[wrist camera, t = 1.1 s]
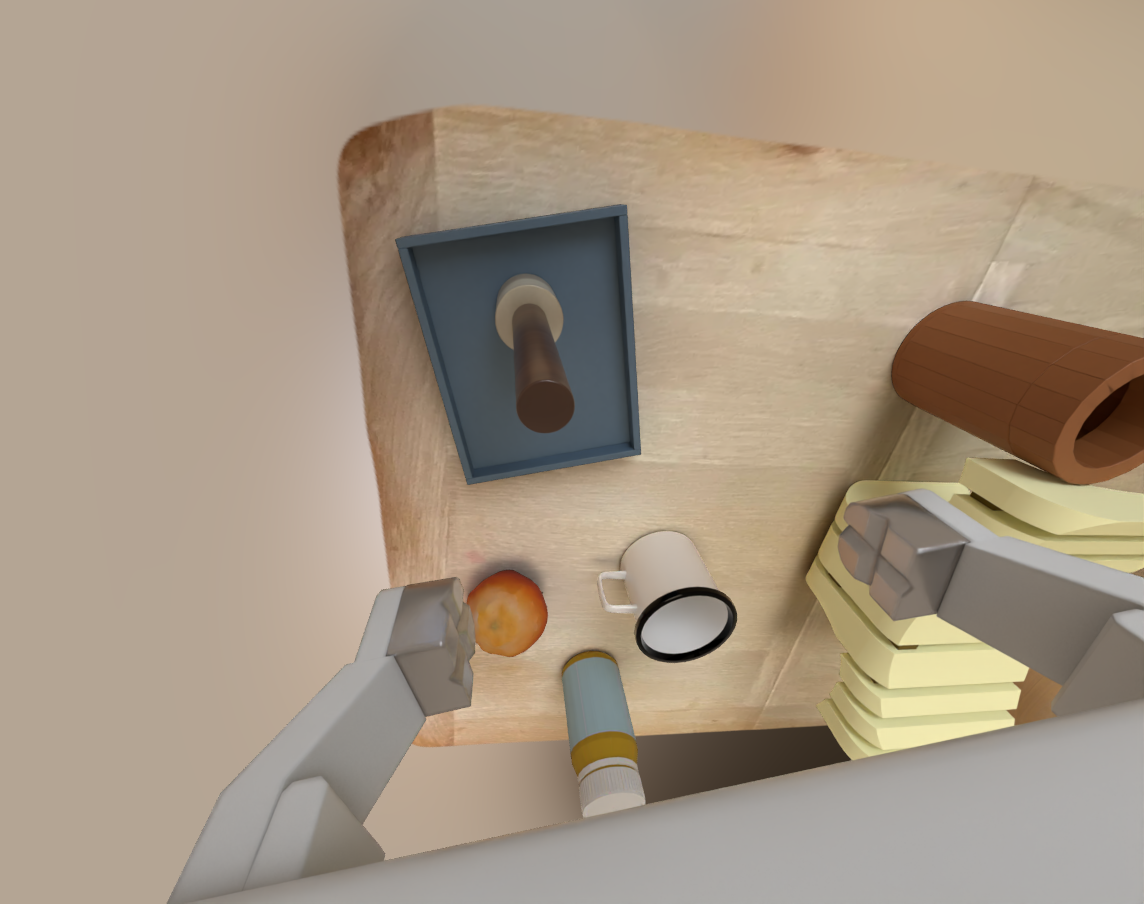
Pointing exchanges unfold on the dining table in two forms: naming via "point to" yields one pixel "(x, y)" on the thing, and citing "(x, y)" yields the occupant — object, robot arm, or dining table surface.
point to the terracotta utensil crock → (1030, 387)
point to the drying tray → (486, 364)
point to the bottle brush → (535, 352)
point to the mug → (671, 599)
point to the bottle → (601, 735)
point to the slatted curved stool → (931, 645)
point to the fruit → (507, 613)
